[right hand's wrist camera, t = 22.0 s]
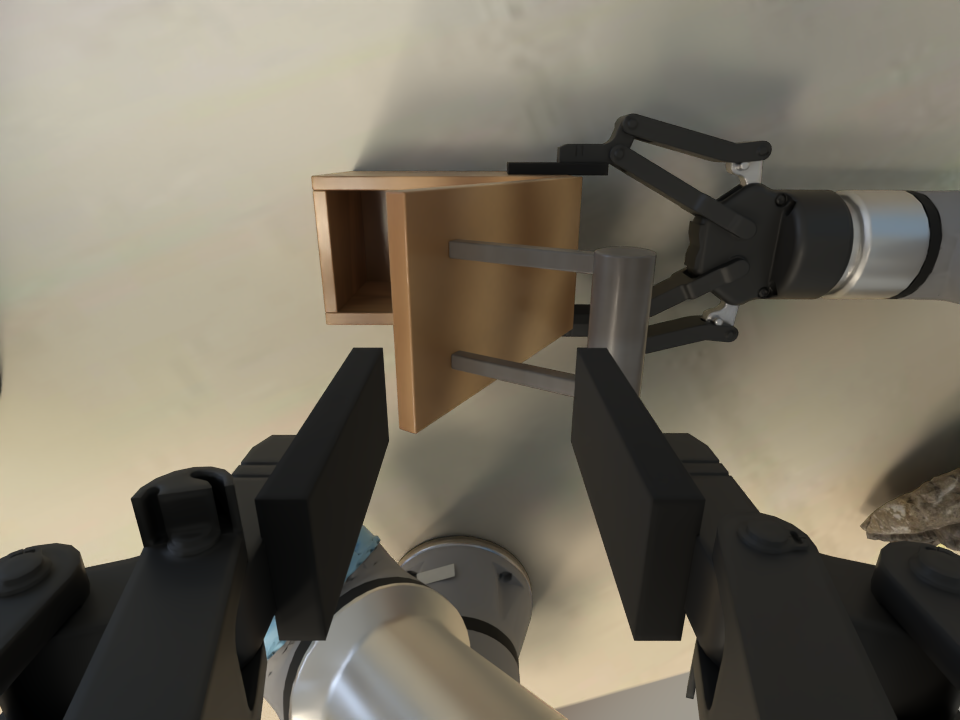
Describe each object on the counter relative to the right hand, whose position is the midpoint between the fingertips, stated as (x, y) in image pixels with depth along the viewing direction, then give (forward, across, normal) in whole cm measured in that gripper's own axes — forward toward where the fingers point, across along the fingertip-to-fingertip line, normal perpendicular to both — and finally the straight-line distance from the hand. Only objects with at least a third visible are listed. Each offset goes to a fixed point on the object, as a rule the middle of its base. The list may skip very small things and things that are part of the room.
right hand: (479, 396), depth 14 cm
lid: (+14, -1, 0) cm, 14 cm away
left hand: (+26, -2, 0) cm, 26 cm away
